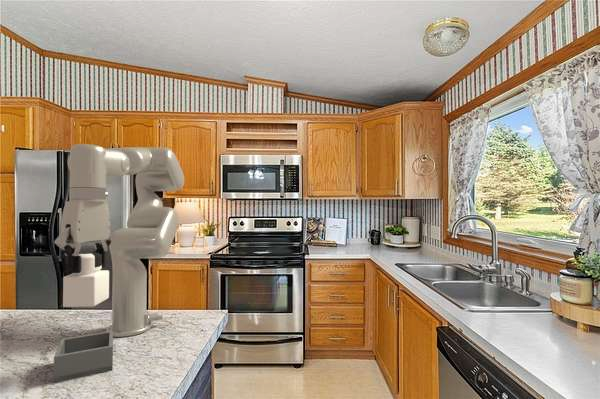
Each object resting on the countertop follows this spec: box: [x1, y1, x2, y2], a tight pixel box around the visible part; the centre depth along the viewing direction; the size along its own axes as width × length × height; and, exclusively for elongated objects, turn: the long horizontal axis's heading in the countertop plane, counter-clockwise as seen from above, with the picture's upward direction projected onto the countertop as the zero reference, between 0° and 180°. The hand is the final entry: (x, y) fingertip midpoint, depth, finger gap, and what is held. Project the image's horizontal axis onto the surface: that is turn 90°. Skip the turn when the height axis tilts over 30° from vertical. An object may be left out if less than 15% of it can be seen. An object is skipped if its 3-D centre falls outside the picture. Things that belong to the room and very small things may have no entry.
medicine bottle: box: [62, 251, 110, 308], centre depth 80 cm, size 7×7×12 cm
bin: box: [53, 331, 114, 383], centre depth 80 cm, size 11×11×6 cm
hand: (87, 269), depth 80 cm, fingers closed on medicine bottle, 6 cm apart
